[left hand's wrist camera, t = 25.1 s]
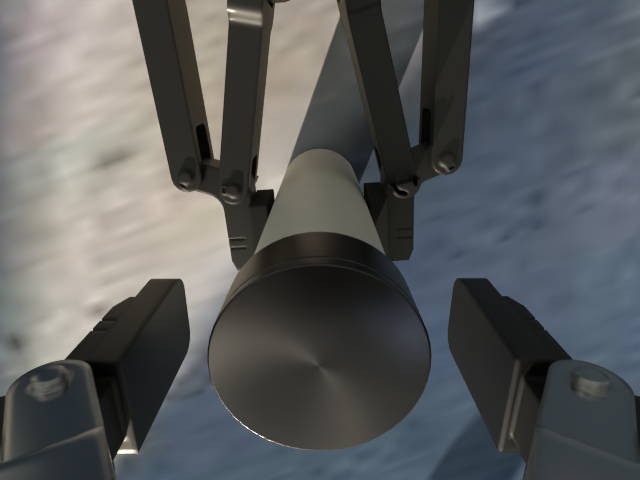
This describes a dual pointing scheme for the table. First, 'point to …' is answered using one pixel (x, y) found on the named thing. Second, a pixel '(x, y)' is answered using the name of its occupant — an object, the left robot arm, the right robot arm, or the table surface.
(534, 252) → the table surface
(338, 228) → the white cylinder
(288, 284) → the lid
